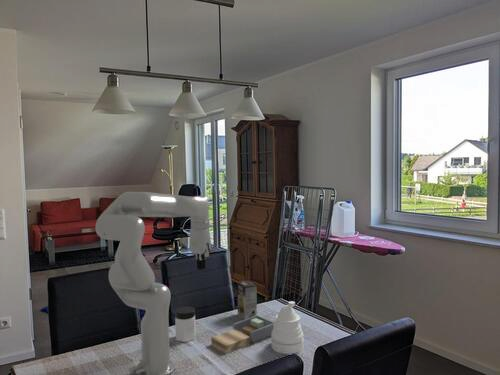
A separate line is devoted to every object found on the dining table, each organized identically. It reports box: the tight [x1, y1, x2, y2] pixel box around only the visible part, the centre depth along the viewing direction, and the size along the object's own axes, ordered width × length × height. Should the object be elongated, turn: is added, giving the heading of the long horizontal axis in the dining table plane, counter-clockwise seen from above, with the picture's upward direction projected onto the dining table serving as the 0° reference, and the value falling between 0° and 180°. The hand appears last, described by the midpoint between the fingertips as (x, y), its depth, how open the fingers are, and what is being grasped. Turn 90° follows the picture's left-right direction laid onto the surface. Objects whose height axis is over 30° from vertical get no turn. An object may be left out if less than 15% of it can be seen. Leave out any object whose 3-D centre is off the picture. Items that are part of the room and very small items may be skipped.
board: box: [210, 329, 251, 354], centre depth 160 cm, size 12×10×3 cm
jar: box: [174, 306, 197, 343], centre depth 167 cm, size 9×8×12 cm
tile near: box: [242, 325, 259, 336], centre depth 167 cm, size 5×5×3 cm
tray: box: [232, 314, 275, 345], centre depth 168 cm, size 14×12×5 cm
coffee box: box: [236, 279, 258, 320], centre depth 189 cm, size 9×6×16 cm
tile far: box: [251, 318, 264, 328], centre depth 169 cm, size 5×5×3 cm
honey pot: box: [270, 300, 305, 355], centre depth 157 cm, size 13×13×18 cm
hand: (201, 268), depth 166 cm, fingers closed
